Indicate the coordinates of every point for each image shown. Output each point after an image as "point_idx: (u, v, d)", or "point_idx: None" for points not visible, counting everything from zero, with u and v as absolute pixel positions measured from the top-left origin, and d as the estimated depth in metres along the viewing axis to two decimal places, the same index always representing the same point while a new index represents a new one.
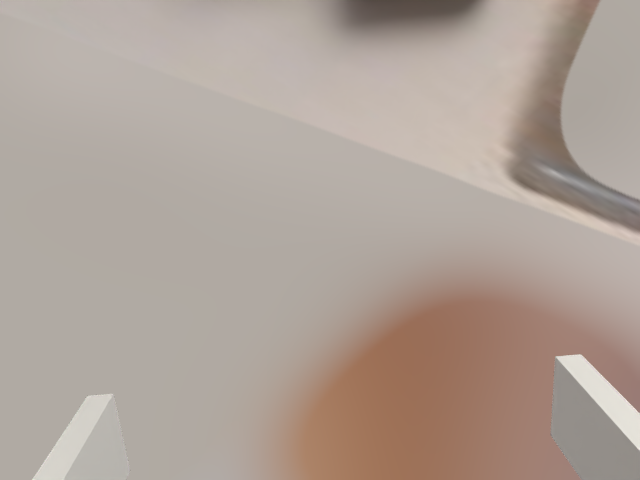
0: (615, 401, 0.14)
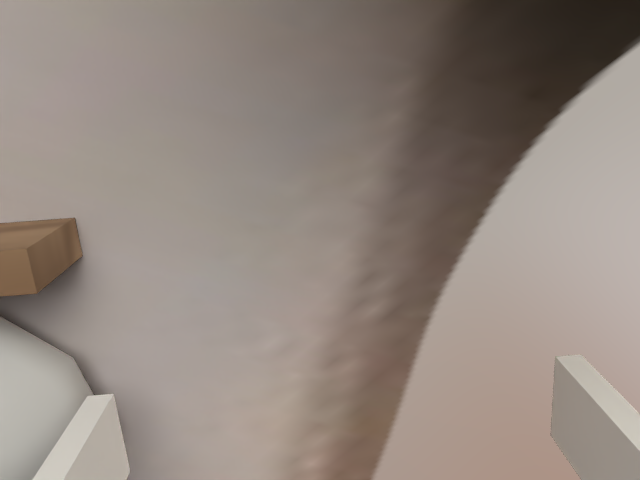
0: (615, 401, 0.14)
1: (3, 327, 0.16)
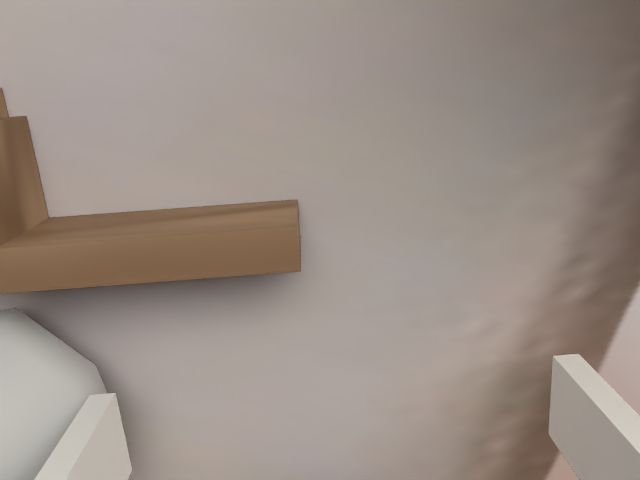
0: (612, 400, 0.14)
1: (29, 328, 0.16)
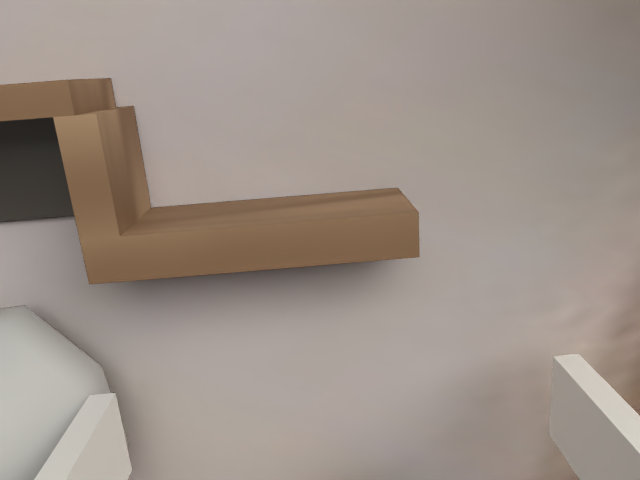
0: (612, 400, 0.14)
1: (37, 326, 0.16)
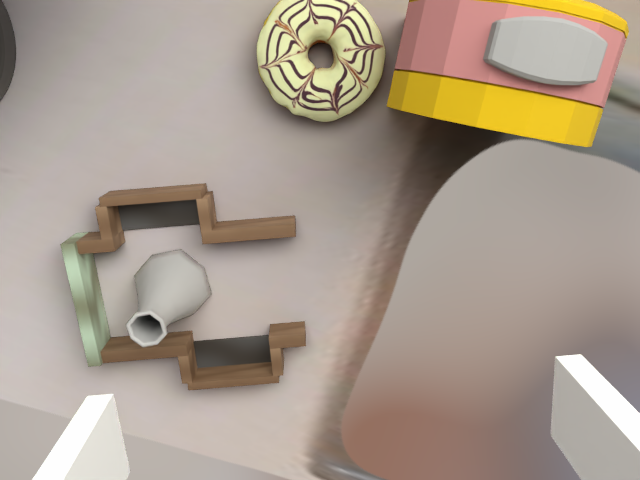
0: (615, 401, 0.14)
1: (185, 255, 0.53)
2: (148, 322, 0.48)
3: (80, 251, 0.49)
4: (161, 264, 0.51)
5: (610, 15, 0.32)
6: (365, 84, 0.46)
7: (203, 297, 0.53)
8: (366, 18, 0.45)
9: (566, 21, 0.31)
